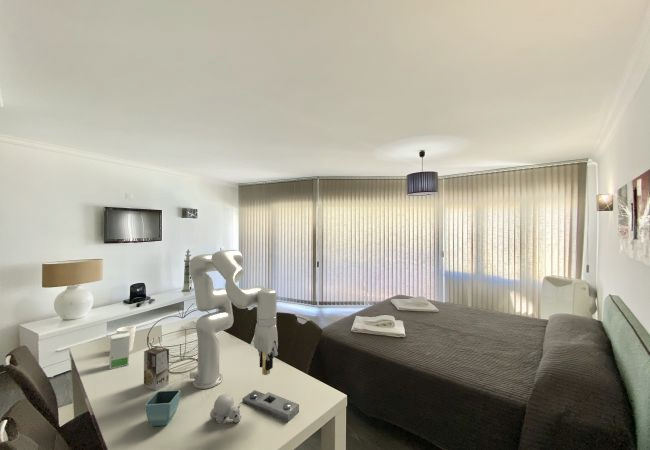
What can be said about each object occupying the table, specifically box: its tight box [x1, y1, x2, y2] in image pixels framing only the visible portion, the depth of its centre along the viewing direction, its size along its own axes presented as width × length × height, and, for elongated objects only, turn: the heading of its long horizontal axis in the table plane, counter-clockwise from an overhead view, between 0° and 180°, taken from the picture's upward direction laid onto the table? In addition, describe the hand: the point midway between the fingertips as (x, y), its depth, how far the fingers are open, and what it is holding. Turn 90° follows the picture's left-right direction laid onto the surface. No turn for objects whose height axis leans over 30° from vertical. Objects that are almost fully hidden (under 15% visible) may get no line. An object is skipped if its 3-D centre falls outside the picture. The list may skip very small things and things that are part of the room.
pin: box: [261, 352, 271, 376], centre depth 108 cm, size 3×3×10 cm
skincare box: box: [108, 333, 130, 370], centre depth 145 cm, size 8×7×16 cm
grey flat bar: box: [241, 389, 300, 423], centre depth 110 cm, size 24×7×3 cm, turn 59°
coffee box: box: [143, 345, 170, 391], centre depth 126 cm, size 9×6×16 cm
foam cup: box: [115, 325, 137, 352], centre depth 163 cm, size 10×9×13 cm
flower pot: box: [144, 389, 181, 427], centre depth 101 cm, size 9×9×9 cm
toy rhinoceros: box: [209, 393, 243, 424], centre depth 102 cm, size 7×12×8 cm, turn 70°
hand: (266, 367), depth 108 cm, fingers closed on pin, 3 cm apart
